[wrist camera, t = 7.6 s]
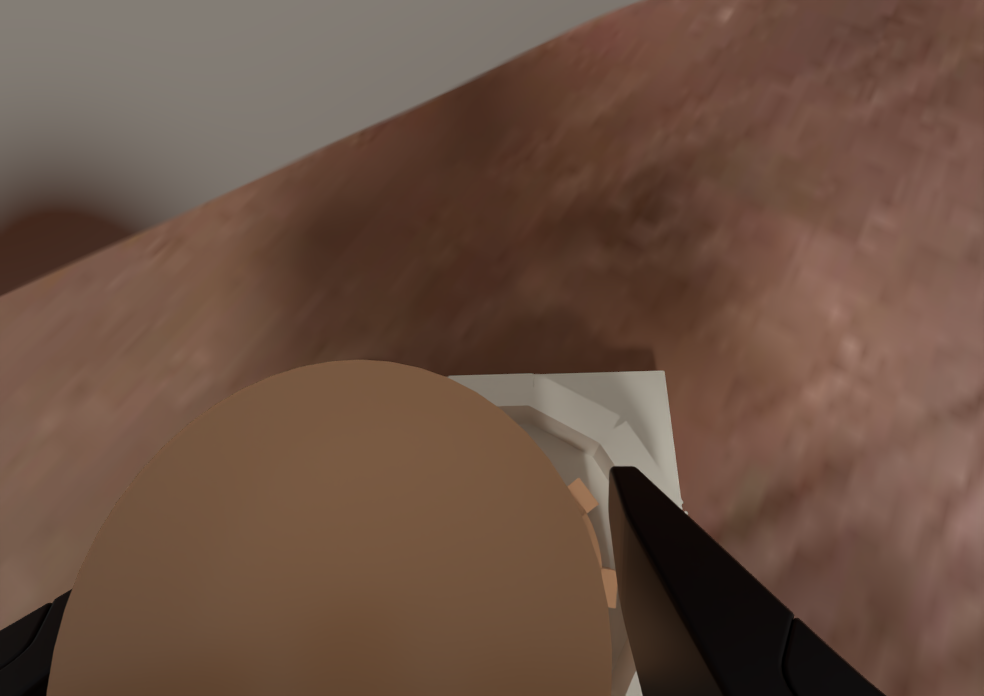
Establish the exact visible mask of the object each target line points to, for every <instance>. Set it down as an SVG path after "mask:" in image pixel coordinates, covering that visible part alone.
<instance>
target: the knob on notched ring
mask: <svg viewBox="0 0 984 696" xmlns="http://www.w3.org/2000/svg"><path fill="white" fill-rule="evenodd" d="M597 505H599V503H598V502H597V501H596V499H595V498H594V497H593V495H592V494H591V493H590V491H589V490H588V489H587V487H586V486H585V485H584V483H583V482H582V481H581V479H580V478H578V479H576V480H575V481H574V482H572V483H571V484H570V485H568V486H566V484H565V483H564V481H563V480H562V478H561V476H560V475H559V473H558V472H557V470H556V469H555V467H554V466H553V464H552V463H551V461H550V459H549V458H548V457H547V456H546V455H545V453H544V452H543V451H542V450H541V449H540V447H539V446H538V445H537V444H536V443H535V442H534V440H533V439H532V438H531V437H530V436H529V434H528V433H527V432H526V431H525V430H524V429H522V428H521V427H520V426H519V425H518V424H517V423H516V422H515V421H514V420H513V419H512V418H510V417H509V416H508V415H507V414H506V413H505V412H504V411H503V410H501V409H500V408H499V407H497V406H496V405H494V404H493V403H491V402H490V401H488V400H487V399H486V398H484V397H483V396H481V395H480V394H478V393H477V392H475V391H473V390H471V389H469V388H467V387H466V386H464V385H462V384H460V383H458V382H456V381H454V380H452V379H450V378H448V377H445V376H442V375H439V374H436V373H433V372H431V371H428V370H425V369H422V368H419V367H414V366H409V365H404V364H399V363H395V362H388V361H374V360H344V361H329V362H324V363H318V364H313V365H307V366H302V367H298V368H295V369H292V370H289V371H286V372H282V373H279V374H276V375H273V376H270V377H268V378H266V379H263V380H261V381H259V382H256V383H254V384H252V385H250V386H247V387H245V388H243V389H241V390H239V391H238V392H236V393H234V394H232V395H231V396H229V397H227V398H226V399H224V400H222V401H220V402H219V403H217V404H215V405H214V406H212V407H211V408H210V409H208V410H207V411H206V412H204V413H203V414H201V415H200V416H199V417H197V418H196V419H195V420H193V421H192V422H190V423H189V424H188V425H187V426H186V427H184V428H183V429H182V430H181V431H180V432H179V433H178V434H177V435H176V436H174V437H173V438H172V439H171V440H170V441H169V442H168V443H167V444H166V445H164V446H163V447H162V448H161V449H160V451H159V452H158V453H157V454H156V455H155V456H154V457H153V458H152V459H151V460H150V461H149V463H148V464H147V465H146V466H145V467H144V468H143V469H142V470H141V471H140V472H139V473H138V475H137V476H136V477H135V479H134V480H133V481H132V483H131V484H130V485H129V487H128V488H127V489H126V491H125V492H124V493H123V495H122V496H121V497H120V499H119V500H118V501H117V503H116V504H115V506H114V508H113V509H112V511H111V513H110V514H109V516H108V517H107V519H106V521H105V522H104V524H103V526H102V527H101V529H100V531H99V532H98V534H97V535H96V537H95V539H94V542H93V544H92V546H91V548H90V550H89V552H88V554H87V556H86V558H85V560H84V562H83V564H82V566H81V568H80V570H79V573H78V575H77V578H76V581H75V583H74V586H73V589H72V591H71V594H70V597H69V599H68V602H67V605H66V607H65V610H64V614H63V617H62V621H61V625H60V629H59V632H58V636H57V640H56V643H55V647H54V652H53V658H52V664H51V670H50V676H49V682H48V688H47V696H611V684H612V643H611V632H610V621H609V610H608V607H611V608H615V609H616V597H617V577H616V570H614V569H611V568H608V567H603V566H602V562H601V553H600V549H599V544H598V540H597V537H596V534H595V531H594V528H593V525H592V523H591V521H590V519H589V517H588V515H587V513H588V512H590V511H591V510H592V509H594V508H595V507H596V506H597Z"/></svg>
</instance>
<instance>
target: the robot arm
mask: <svg viewBox="0 0 984 696" xmlns="http://www.w3.org/2000/svg"><path fill="white" fill-rule="evenodd" d="M608 513H609V523H610V531H611V539H612V546H613V554H614V562H615V569H616V577H617V585H618V592H619V599H620V605H621V610H622V614H623V619H624V623H625V627H626V631H627V635H628V639H629V643H630V647H631V651H632V655H633V659H634V663H635V667H636V671H637V675H638V679H639V683H640V687H641V691H642V695H643V696H886V695H885V694H884V693H882V692H881V691H880V690H879V689H878V688H876V687H875V686H874V685H873V684H872V683H870V682H869V681H868V680H867V679H866V678H864V677H863V676H862V675H861V674H860V673H859V672H858V671H857V670H855V669H854V668H853V667H852V666H851V665H850V664H849V663H848V662H846V661H845V660H844V659H843V658H842V657H841V656H840V655H839V654H838V653H836V652H835V651H834V650H833V649H832V648H831V647H830V646H829V645H827V644H826V643H825V642H824V641H823V640H822V639H821V638H820V637H819V636H818V635H817V634H815V633H814V632H813V631H812V630H811V629H810V628H809V627H808V626H807V625H806V624H805V623H804V622H803V621H801V620H800V619H799V618H795V619H794V614H793V613H792V612H791V611H790V610H789V609H788V608H787V607H786V606H785V605H784V604H783V603H782V602H781V601H780V600H779V599H777V598H776V597H775V596H774V595H773V594H772V593H771V592H770V591H769V590H768V589H767V588H766V587H765V586H763V585H762V584H761V583H760V582H759V581H758V580H757V579H756V578H755V577H754V576H753V575H752V574H751V573H749V572H748V571H747V570H746V569H745V568H744V567H743V566H742V565H741V564H740V563H739V562H738V561H737V560H735V559H734V558H733V557H732V556H731V555H730V554H729V553H728V552H727V551H726V550H725V549H724V548H723V547H721V546H720V545H719V544H718V543H717V542H716V541H715V540H714V539H713V538H712V537H711V536H710V535H709V534H708V533H706V532H705V531H704V530H703V529H702V528H701V527H700V526H699V525H698V524H697V523H696V522H695V521H694V520H692V519H691V518H690V517H689V516H688V515H687V514H686V513H685V512H684V511H683V510H682V509H681V508H680V507H678V506H677V505H676V504H675V503H674V502H673V501H672V500H671V499H670V498H669V497H668V496H667V495H666V494H664V493H663V492H662V491H661V490H660V489H659V488H658V487H657V486H656V485H655V484H654V483H653V482H652V481H650V480H649V479H648V478H647V477H646V476H645V475H644V474H643V473H642V472H641V471H640V470H639V469H638V468H636V467H634V466H613V467H611V468H610V470H609V495H608ZM71 591H72V589H71V590H69V591H68V592H66V593H64V594H63V595H61V596H59V597H58V598H56V599H55V600H54V601H53V603H47V604H45V605H44V606H42V607H40V608H38V609H37V610H35V611H33V612H32V613H30V614H28V615H27V616H25V617H23V618H21V619H20V620H18V621H16V622H15V623H13V624H11V625H9V626H8V627H6V628H4V629H2V630H1V631H0V696H47V688H48V682H49V676H50V670H51V664H52V658H53V652H54V647H55V643H56V640H57V636H58V632H59V629H60V625H61V621H62V617H63V614H64V610H65V607H66V605H67V602H68V599H69V597H70V594H71ZM793 619H794V620H793Z"/></svg>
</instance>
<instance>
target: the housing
mask: <svg viewBox="0 0 984 696" xmlns="http://www.w3.org/2000/svg"><path fill="white" fill-rule="evenodd" d="M448 378H450V379H452V380H454V381H456V382H458V383H460V384H462V385H464V386H466V387H467V388H469V389H471V390H473V391H475V392H477V393H478V394H480V395H481V396H483V397H484V398H486V399H487V400H488V401H490V402H491V403H493V404H494V405H496V406H497V407H499V408H500V409H501V410H503V411H504V412H505V413H506V414H507V415H508V416H509V417H510V418H512V419H513V420H514V421H515V422H516V423H517V424H518V425H519V426H520V427H521V428H522V429H524V430H525V431H526V432H527V433H528V434H529V436H530V437H531V438H532V439H533V440H534V442H535V443H536V444H537V445H538V446H539V447H540V449H541V450H542V451H543V452H544V453H545V455H546V456H547V457H548V458H549V459H550V461H551V463H552V464H553V466H554V467H555V469H556V470H557V472H558V473H559V475H560V476H561V478H562V480H563V481H564V483H565V484H566V486H568V485H570V484H571V483H572V482H574V481H575V480H576V479H578V478H580V479H581V481H582V482H583V483H584V485H585V486H586V487H587V489H588V490H589V491H590V493H591V494H592V495H593V497H594V498H595V499H596V501H597V502H598V503H599V505H597V506H596V507H595V508H594V509H592V510H591V511H590V512H588V513H587V515H588V517H589V519H590V521H591V523H592V525H593V528H594V531H595V534H596V537H597V540H598V544H599V549H600V553H601V562H602V566H603V567H608V568H611V569H614V570H616V569H615V562H614V554H613V546H612V539H611V531H610V523H609V513H608V495H609V470H610V468H611V467H613V466H634V467H636V468H638V469H639V470H640V471H641V472H642V473H643V474H644V475H645V476H646V477H647V478H648V479H649V480H650V481H652V482H653V483H654V484H655V485H656V486H657V487H658V488H659V489H660V490H661V491H662V492H663V493H664V494H666V495H667V496H668V497H669V498H670V499H671V500H672V501H673V502H674V503H675V504H676V505H677V506H678V507H680V508H681V509H682V504H683V503H684V502H683V501H682V499H681V495H680V487H679V480H678V472H677V464H676V456H675V449H674V441H673V433H672V426H671V418H670V410H669V403H668V395H667V387H666V379H665V372H664V371H632V372H598V373H563V374H533V373H526V374H492V375H458V376H449V377H448ZM685 513H686V514H687V515H688V512H685ZM608 610H609V621H610V632H611V643H612V684H611V696H643V695H642V691H641V687H640V683H639V679H638V675H637V671H636V667H635V663H634V659H633V655H632V651H631V647H630V643H629V639H628V635H627V631H626V627H625V623H624V619H623V614H622V610H621V605H620V599H619V592H618V585H617V597H616V609H615V608H611V607H608Z"/></svg>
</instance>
